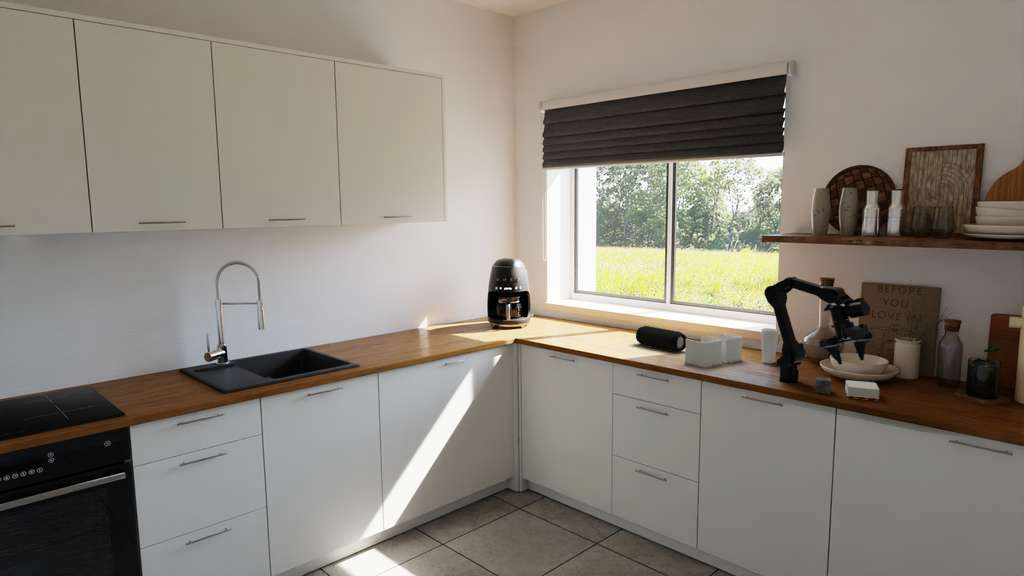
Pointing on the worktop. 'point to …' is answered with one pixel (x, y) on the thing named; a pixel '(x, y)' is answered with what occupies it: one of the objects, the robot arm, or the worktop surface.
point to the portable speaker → (661, 338)
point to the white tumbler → (769, 345)
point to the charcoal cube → (823, 384)
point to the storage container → (714, 350)
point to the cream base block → (862, 389)
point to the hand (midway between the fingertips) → (851, 362)
